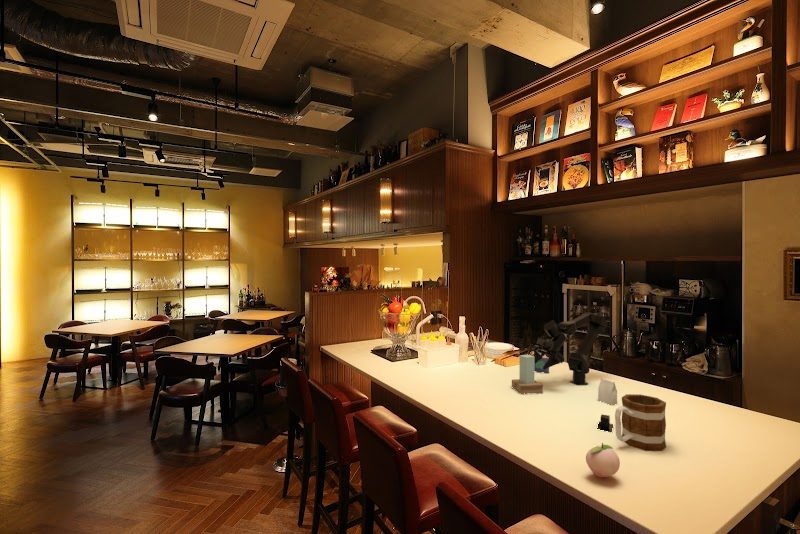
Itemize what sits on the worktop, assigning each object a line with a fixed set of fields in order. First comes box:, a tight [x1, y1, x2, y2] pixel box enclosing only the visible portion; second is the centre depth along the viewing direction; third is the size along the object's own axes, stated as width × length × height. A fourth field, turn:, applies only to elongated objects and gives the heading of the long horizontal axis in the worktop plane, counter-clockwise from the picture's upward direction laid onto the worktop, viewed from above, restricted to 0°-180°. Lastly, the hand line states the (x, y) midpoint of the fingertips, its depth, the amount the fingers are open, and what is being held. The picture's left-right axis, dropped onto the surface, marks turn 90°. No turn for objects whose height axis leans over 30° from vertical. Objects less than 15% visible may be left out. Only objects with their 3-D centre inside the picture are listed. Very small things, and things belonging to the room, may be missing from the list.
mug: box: [614, 393, 667, 452], centre depth 141 cm, size 20×14×15 cm
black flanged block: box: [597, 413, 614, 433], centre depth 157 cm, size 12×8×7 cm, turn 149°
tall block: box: [519, 354, 535, 384], centre depth 202 cm, size 5×5×13 cm
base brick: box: [511, 379, 544, 395], centre depth 202 cm, size 11×11×4 cm
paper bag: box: [597, 378, 618, 406], centre depth 185 cm, size 4×7×10 cm, turn 24°
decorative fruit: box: [585, 442, 621, 479], centre depth 119 cm, size 9×8×10 cm
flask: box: [534, 356, 550, 374], centre depth 237 cm, size 9×3×11 cm, turn 61°
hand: (537, 366), depth 204 cm, fingers open, 9 cm apart
